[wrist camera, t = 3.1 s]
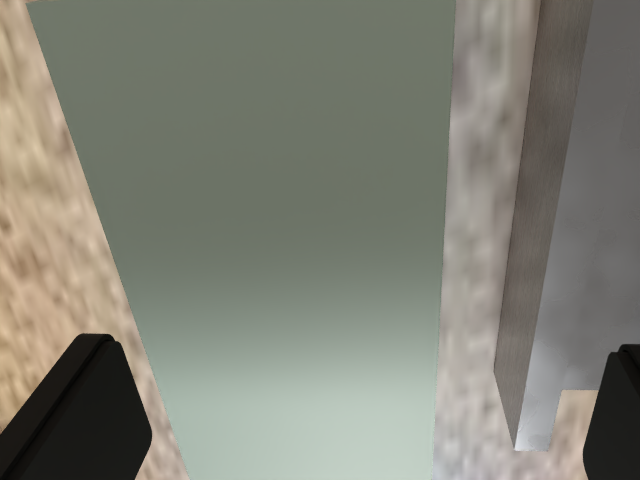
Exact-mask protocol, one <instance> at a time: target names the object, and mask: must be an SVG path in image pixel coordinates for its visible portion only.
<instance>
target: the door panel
mask: <svg viewBox="0 0 640 480" xmlns="http://www.w3.org/2000/svg"><path fill="white" fill-rule="evenodd" d="M26 6H27V9H28V12H29V15H30V18H31V21H32V24H33V27H34V29H35V32H36V35H37V38H38V41H39V44H40V47H41V50H42V53H43V56H44V58H45V61H46V64H47V67H48V70H49V73H50V76H51V79H52V82H53V85H54V87H55V90H56V93H57V96H58V99H59V102H60V105H61V108H62V111H63V114H64V116H65V119H66V122H67V125H68V128H69V131H70V134H71V137H72V140H73V143H74V145H75V148H76V151H77V154H78V157H79V160H80V163H81V166H82V169H83V172H84V174H85V177H86V180H87V183H88V186H89V189H90V192H91V195H92V198H93V201H94V203H95V206H96V209H97V212H98V215H99V218H100V221H101V224H102V227H103V230H104V232H105V235H106V238H107V241H108V244H109V247H110V250H111V253H112V256H113V259H114V261H115V264H116V267H117V270H118V273H119V276H120V279H121V282H122V285H123V287H124V290H125V293H126V296H127V299H128V302H129V305H130V308H131V311H132V314H133V316H134V319H135V322H136V325H137V328H138V331H139V334H140V337H141V340H142V343H143V345H144V348H145V351H146V354H147V357H148V360H149V363H150V366H151V369H152V372H153V374H154V377H155V380H156V383H157V386H158V389H159V392H160V395H161V398H162V401H163V403H164V406H165V409H166V412H167V415H168V418H169V421H170V424H171V427H172V430H173V432H174V435H175V438H176V441H177V444H178V447H179V450H180V453H181V456H182V459H183V461H184V464H185V467H186V470H187V473H188V476H189V479H190V480H432V466H433V446H434V426H435V406H436V386H437V367H438V347H439V327H440V307H441V287H442V267H443V247H444V227H445V207H446V187H447V167H448V147H449V127H450V107H451V87H452V68H453V48H454V28H455V8H456V0H37V1H33V2H29V3H26Z"/></svg>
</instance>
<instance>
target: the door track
mask: <svg viewBox="0 0 640 480" xmlns="http://www.w3.org/2000/svg"><path fill="white" fill-rule="evenodd" d="M622 344H640V0H541V8H540V16H539V24H538V31H537V39H536V47H535V55H534V63H533V70H532V78H531V86H530V94H529V101H528V109H527V117H526V125H525V132H524V140H523V148H522V156H521V164H520V171H519V179H518V187H517V195H516V202H515V210H514V218H513V226H512V234H511V241H510V249H509V257H508V265H507V272H506V280H505V288H504V296H503V303H502V311H501V319H500V327H499V335H498V342H497V350H496V358H495V366H494V374H495V378H496V382H497V386H498V390H499V394H500V397H501V401H502V405H503V409H504V413H505V417H506V420H507V424H508V428H509V432H510V436H511V440H512V443H513V447H514V450H517V451H548V448H549V444H550V439H551V435H552V431H553V426H554V422H555V417H556V413H557V409H558V404H559V400H560V396H561V391H562V390H599V388H600V384H601V381H602V377H603V373H604V369H605V365H606V362H607V358H608V355H609V354H610V353H611V352H618V350H619V347H620V346H621V345H622Z"/></svg>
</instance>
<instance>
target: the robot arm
mask: <svg viewBox="0 0 640 480" xmlns="http://www.w3.org/2000/svg"><path fill="white" fill-rule="evenodd" d="M151 441H152V430H151V426H150V424H149V421H148V418H147V415H146V412H145V410H144V407H143V404H142V401H141V398H140V395H139V393H138V390H137V387H136V384H135V381H134V379H133V376H132V373H131V370H130V367H129V365H128V362H127V359H126V356H125V353H124V351H123V348H122V345H121V343H119V342H118V341H115V340H114V338H113V337H112V336H111V335H110V334H84V333H82V334H80V335H78V336H77V337H76V338H75V339H74V340H73V342H72V343H71V344H70V346H69V347H68V348H67V349H66V351H65V352H64V353H63V355H62V356H61V357H60V358H59V360H58V361H57V362H56V364H55V365H54V366H53V367H52V369H51V370H50V371H49V373H48V374H47V375H46V376H45V378H44V379H43V380H42V382H41V383H40V384H39V385H38V387H37V388H36V389H35V391H34V392H33V393H32V394H31V396H30V397H29V398H28V400H27V401H26V402H25V403H24V405H23V406H22V407H21V409H20V410H19V411H18V413H17V414H16V415H15V416H14V418H13V419H12V420H11V422H10V423H9V424H8V425H7V427H6V428H5V429H4V431H3V432H2V433H1V434H0V480H135V478H136V475H137V473H138V471H139V469H140V467H141V465H142V463H143V461H144V458H145V456H146V454H147V452H148V450H149V447H150V445H151ZM583 463H584V468H585V471H586V474H587V477H588V480H640V344H622V345H621V346H620V347H619V350H618V352H611V353H610V354H609V355H608V358H607V362H606V365H605V369H604V373H603V377H602V381H601V384H600V388H599V392H598V396H597V399H596V403H595V407H594V411H593V414H592V418H591V422H590V426H589V429H588V433H587V437H586V441H585V444H584V448H583Z"/></svg>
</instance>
